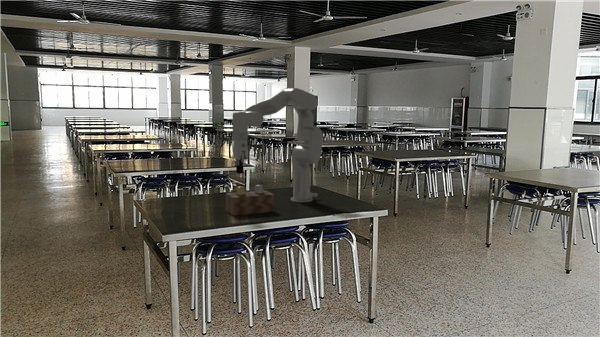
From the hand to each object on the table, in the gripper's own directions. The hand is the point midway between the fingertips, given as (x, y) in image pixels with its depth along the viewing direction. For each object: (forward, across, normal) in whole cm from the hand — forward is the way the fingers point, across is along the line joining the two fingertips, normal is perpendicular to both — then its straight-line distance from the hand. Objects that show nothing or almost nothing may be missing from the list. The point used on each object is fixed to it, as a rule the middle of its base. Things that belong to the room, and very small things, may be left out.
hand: (239, 173), depth 230 cm
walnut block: (+20, 0, -6) cm, 21 cm away
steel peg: (+15, 0, -11) cm, 18 cm away
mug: (+20, +19, -7) cm, 29 cm away
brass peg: (+15, 0, -1) cm, 15 cm away
